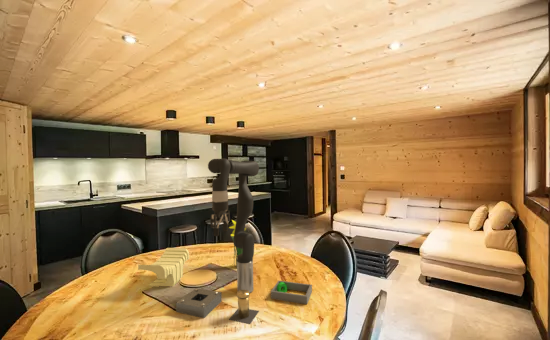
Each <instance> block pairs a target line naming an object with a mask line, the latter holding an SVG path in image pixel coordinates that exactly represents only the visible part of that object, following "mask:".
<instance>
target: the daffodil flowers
mask: <svg viewBox="0 0 550 340" xmlns="http://www.w3.org/2000/svg"><path fill="white" fill-rule="evenodd" d="M231 221H232V224H233V225H232V226H228V229H233V231H232V232H231V234H230V238H231V239H232V243H233V258H235V266H236V268H237V256H238V255H239V254H242V253H243V249H240V248H237V247H235V245H234V232H235V226H236V220H233V219H231ZM247 231H248V229H247V227H245V232H247ZM247 233H249V232H247Z"/></svg>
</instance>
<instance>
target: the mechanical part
mask: <svg viewBox="0 0 550 340" xmlns="http://www.w3.org/2000/svg"><path fill="white" fill-rule="evenodd" d="M281 287H283V288H281ZM277 291H278V292H285V293H288V289H287V285H286V284H285V283H283V282H280V283H279V284H278V286H277Z"/></svg>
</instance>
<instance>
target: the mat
mask: <svg viewBox="0 0 550 340" xmlns="http://www.w3.org/2000/svg"><path fill="white" fill-rule="evenodd" d="M259 312H260V310H255V309H250V308H249V316H248V317H247V318H239V316H238V308H237V309H236V310H235V311H234V313H233V314H232V315H231V316H230V317H229V318H228V320H229V321H232V322H233V321H234V322H238V323H242V324H243V323H244V324H248V325H251V323H252V322H253V320H254V319H255V318H256V316H257V315H258V314H259Z"/></svg>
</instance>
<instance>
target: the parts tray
mask: <svg viewBox="0 0 550 340" xmlns="http://www.w3.org/2000/svg"><path fill="white" fill-rule="evenodd" d="M280 282H283V283H285V284H286V285H287V290H290V291H297V292H298V291H299V292H304V293H305V292H306V294H305V295H304V294H298V293H297V294H296V293H292V292H291V293H290V292H286V293H285V292H278V291H277V286H278V284H279V283H280ZM281 289H283V287H281ZM312 294H313V284H310V283H309V284H307V283H300V282H293V281H285V280H277V282H276V283H275V285H274V286H273V288H272V289H271V290H270V299H271V300H278V301H284V302H290V303H297V304H302V305H303V304H304V305H308V304H309V301H310V298H311V295H312Z"/></svg>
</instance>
